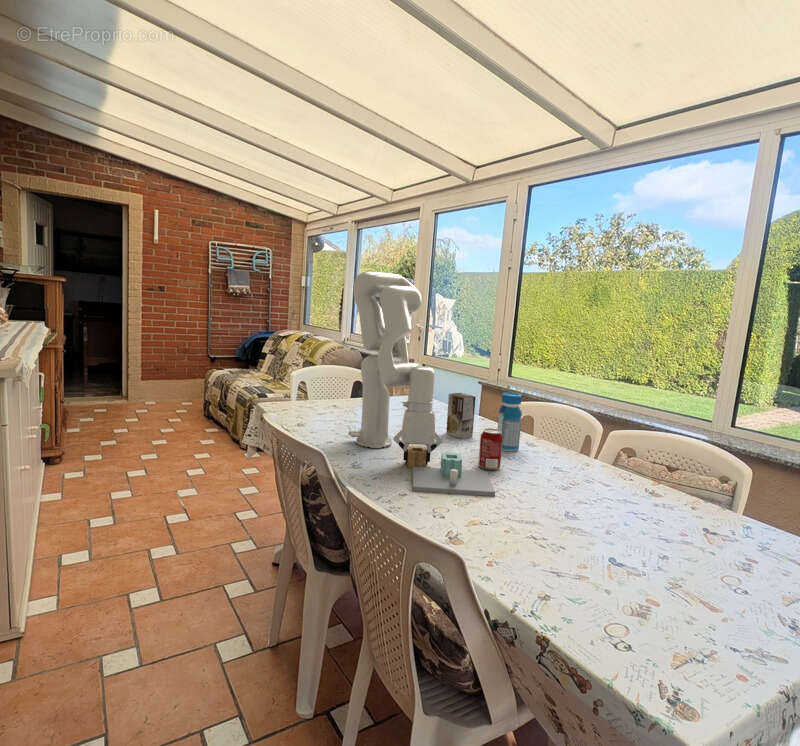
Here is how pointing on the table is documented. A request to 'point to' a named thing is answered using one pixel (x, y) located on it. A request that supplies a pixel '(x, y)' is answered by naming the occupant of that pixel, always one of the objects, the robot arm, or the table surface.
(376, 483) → the table surface
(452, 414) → the coffee box
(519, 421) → the beverage bottle
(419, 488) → the board
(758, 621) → the table surface
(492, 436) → the soda can
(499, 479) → the table surface
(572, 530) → the table surface
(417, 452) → the oak gear
